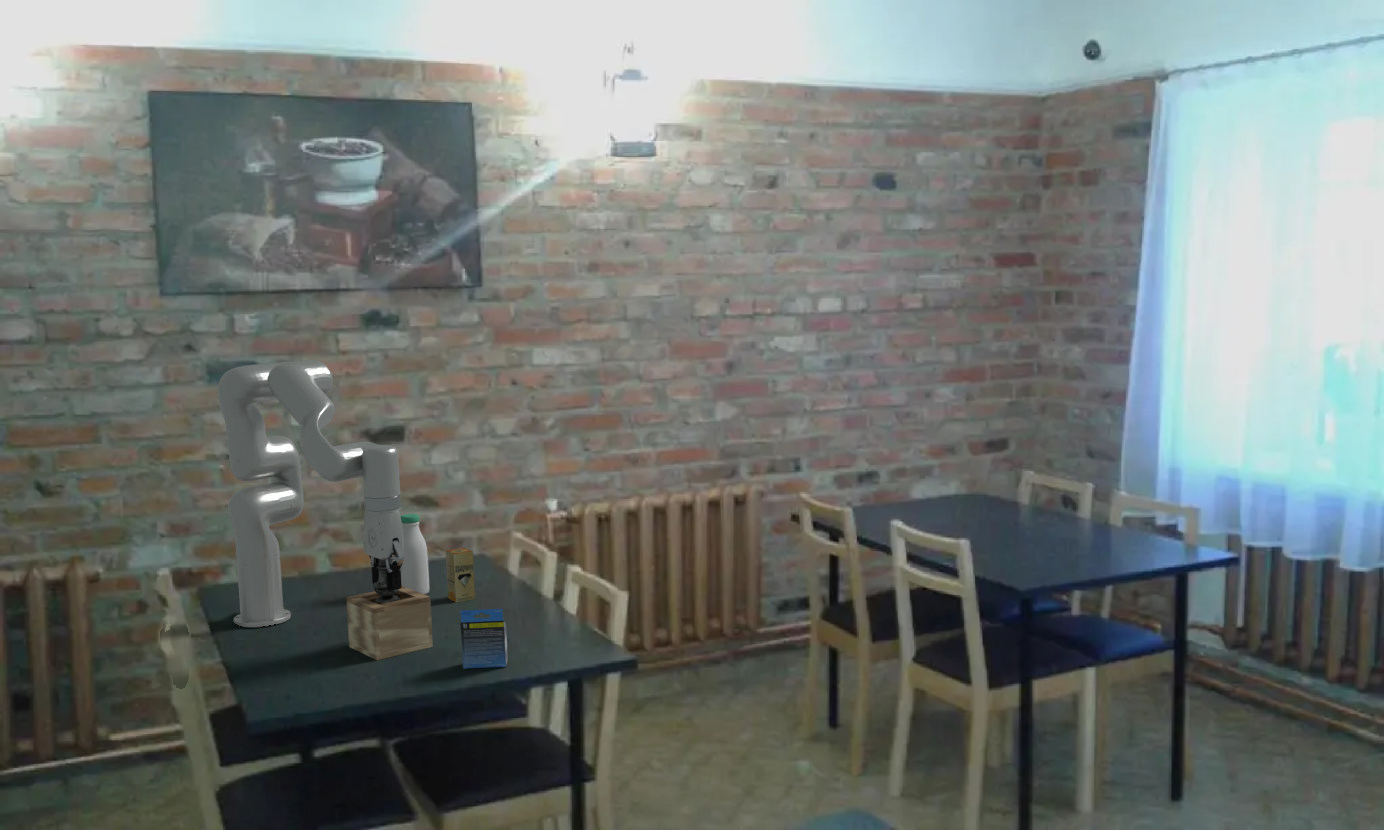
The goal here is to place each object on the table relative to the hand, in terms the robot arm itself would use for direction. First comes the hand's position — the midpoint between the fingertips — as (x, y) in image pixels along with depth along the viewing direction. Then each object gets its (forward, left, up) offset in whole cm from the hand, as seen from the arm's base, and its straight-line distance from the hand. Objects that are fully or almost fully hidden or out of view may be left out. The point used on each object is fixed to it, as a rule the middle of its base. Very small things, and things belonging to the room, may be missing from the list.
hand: (386, 585), depth 266 cm
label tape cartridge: (+26, +8, -14) cm, 30 cm away
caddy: (0, 0, -13) cm, 13 cm away
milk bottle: (-36, +25, -14) cm, 46 cm away
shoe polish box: (-23, +31, -14) cm, 41 cm away
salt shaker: (0, 0, -3) cm, 3 cm away
